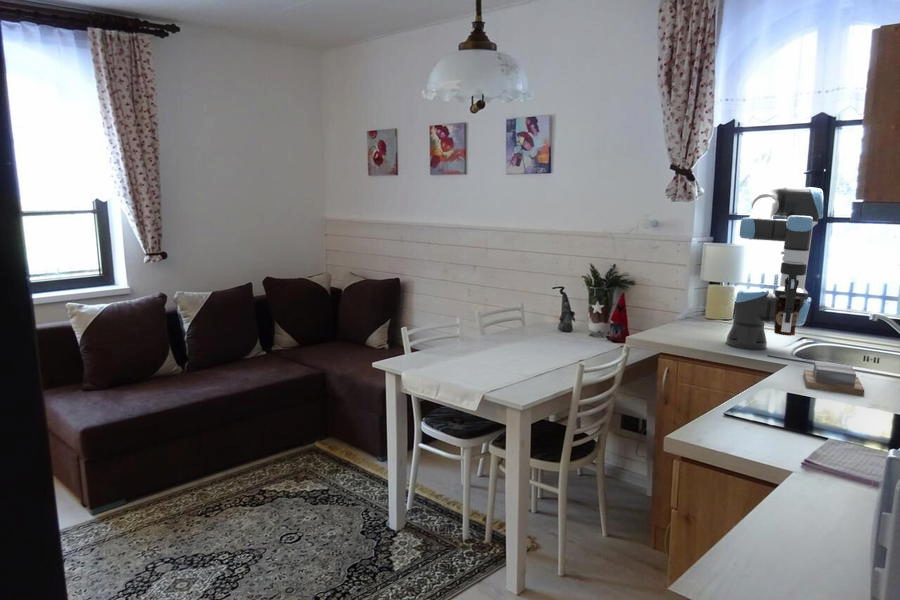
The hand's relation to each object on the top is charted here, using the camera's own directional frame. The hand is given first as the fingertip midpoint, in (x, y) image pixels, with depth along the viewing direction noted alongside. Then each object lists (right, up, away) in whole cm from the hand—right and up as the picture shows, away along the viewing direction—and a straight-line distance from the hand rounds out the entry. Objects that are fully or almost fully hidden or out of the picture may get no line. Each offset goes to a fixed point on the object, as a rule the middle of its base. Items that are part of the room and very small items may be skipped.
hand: (785, 329), depth 219 cm
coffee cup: (0, -2, 0) cm, 2 cm away
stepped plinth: (+14, -18, -4) cm, 23 cm away
